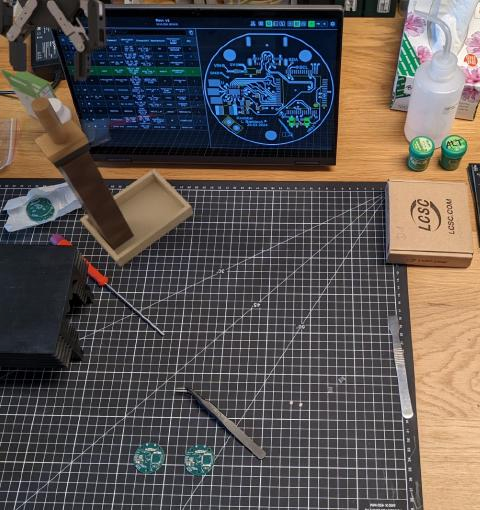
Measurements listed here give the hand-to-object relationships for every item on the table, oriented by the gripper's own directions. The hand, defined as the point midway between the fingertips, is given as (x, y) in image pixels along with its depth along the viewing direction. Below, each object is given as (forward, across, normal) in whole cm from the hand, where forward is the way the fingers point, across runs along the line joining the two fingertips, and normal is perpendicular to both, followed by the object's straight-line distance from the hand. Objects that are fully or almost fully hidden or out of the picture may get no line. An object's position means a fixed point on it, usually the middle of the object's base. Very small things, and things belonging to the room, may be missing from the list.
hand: (50, 76), depth 84 cm
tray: (+27, +3, +27) cm, 38 cm away
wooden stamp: (+11, 0, +5) cm, 12 cm away
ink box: (+12, -24, +42) cm, 49 cm away
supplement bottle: (+16, -17, +38) cm, 45 cm away
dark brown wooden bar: (+29, 0, +23) cm, 37 cm away
